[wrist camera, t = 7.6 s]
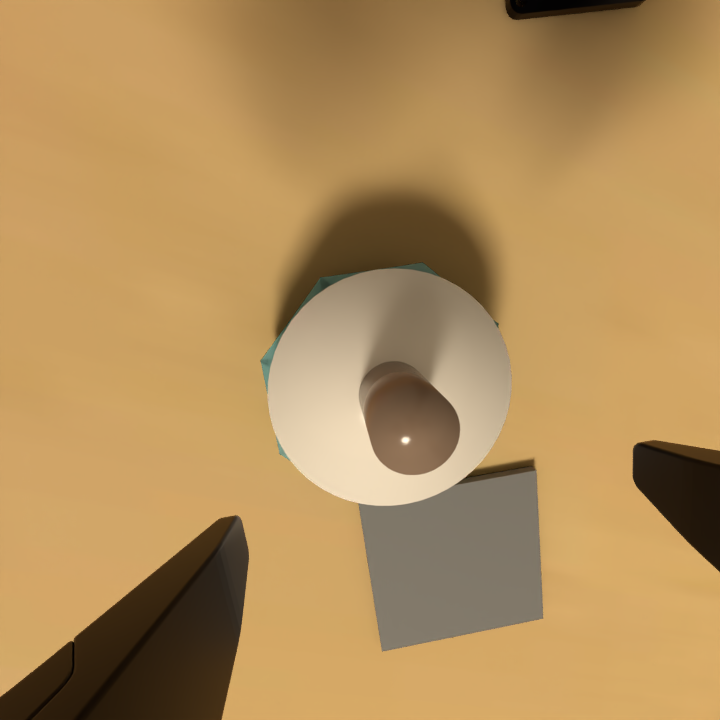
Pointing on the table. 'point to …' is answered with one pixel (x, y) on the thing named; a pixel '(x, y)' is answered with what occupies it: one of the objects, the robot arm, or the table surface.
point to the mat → (456, 559)
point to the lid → (389, 387)
